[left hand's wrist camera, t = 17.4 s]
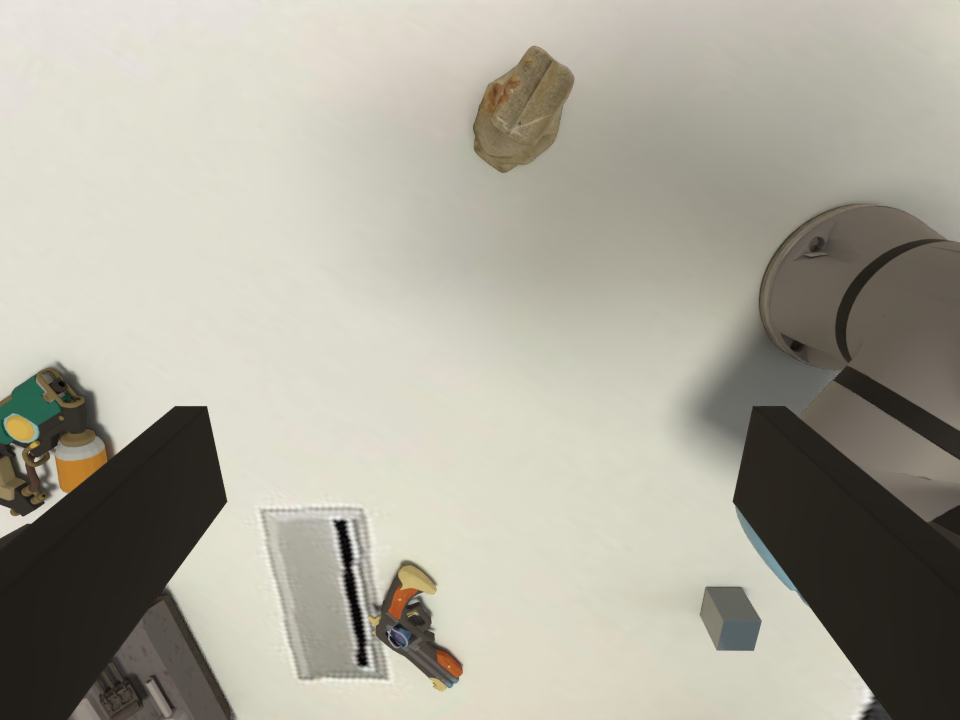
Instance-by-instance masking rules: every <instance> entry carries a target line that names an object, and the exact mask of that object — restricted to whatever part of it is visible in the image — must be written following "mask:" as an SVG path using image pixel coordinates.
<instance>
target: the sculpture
mask: <svg viewBox="0 0 960 720" xmlns="http://www.w3.org/2000/svg"><path fill="white" fill-rule="evenodd" d="M573 83H574V76H573V74H572V73H571V71H570V70H569V69H568V68H567V67H566V66H564V65H561V64H559V63H558V62H557V61H555V60H554V59H553V58H552V57H551V56H550V55H549V54H548V53H547V52H545V51H544V50H543V49H541V48H540V47H537V46H532V47H530V48H529V49H528V50H527V52H526V53H525V54H524V56H523V57H522V59H521V61H520V62H519V64H518V65H517V66H515V67H514V68H513V69H512V70H510V71H509V72H508V73H506V74H505V75H503V76H502V77H500V78H499V79H497V80H495V81H493V82H492V83H490V84H489V85H488V87H487V89H486V91H485V94H484V97H483V99H482V101H481V103H480V105H479V109H478V113H477V116H476V120H475V122H474V125H473V130H474V133H475V141H474V150H475V152H476V153H477V154H478V155H479V156H480V157H481V158H483V159H484V160H485V161H486V162H487V163H489V164H490V165H491V166H493V167H494V168H496V169H497V170H498V171H500V172H502V173H505V172H508V171H509V170H511V169H512V168H514V167H515V166H517V165H525V164H528V163H530V162H531V161H533V160H534V159H535V158H536V157H537V156H538V155H540V154H541V153H542V152H544V151H545V150H546V149H547V148H548V147H550V146H551V145H552V143H553V142H554V141H555V139H556V136H557V133H558V129H559V124H560V119H561V112H562V107H563V104H564V103H565V101H566V99H567V98H568V96H569V94H570V92H571V90H572V87H573Z"/></svg>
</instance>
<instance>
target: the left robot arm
mask: <svg viewBox="0 0 960 720" xmlns="http://www.w3.org/2000/svg"><path fill="white" fill-rule="evenodd" d="M760 311H761V317H762V321H763V324H764V327H765V329H766V331H767V333H768V335H769V336H770V338H771V339H772V340H773V341H774V343H775V344H776V345H777V346H778V347H779V348H781V349H782V350H783V351H785V352H786V353H788V354H789V355H791V356H792V357H794V358H795V359H797V360H799V361H801V362H803V363H806V364H808V365H812V366H815V367H820V368H825V369H833V370H841V372H840V373H839V374H838V375H837V377H836V378H835V379H834V380H832V381H831V382H830V384H829V385H828V386H827V387H826V388H825V389H824V390H823V391H822V392H821V393H820V394H819V396H818V397H817V398H816V399H815V400H814V401H813V402H812V403H811V404H810V405H809V406H808V407H807V409H806V410H805V411H804V412H803V413H802V414H801V415H800V416H799V417H797V416H796V415H795V414H794V413H793V412H791V411H790V410H789V409H788V408H786V407H785V406H753V409H752V413H751V418H750V423H749V428H748V432H747V437H746V442H745V446H744V451H743V456H742V460H741V465H740V470H739V474H738V479H737V484H736V488H735V493H734V498H733V503H734V504H735V507H736V513H737V516H738V519H739V521H740V524H741V526H742V528H743V530H744V532H745V534H746V535H747V537H748V539H749V540H750V542H751V544H752V545H753V547H754V548H755V549H756V551H757V552H758V554H759V555H760V556H761V558H762V559H763V560H764V562H765V563H766V564H767V565H768V567H769V568H770V569H771V570H772V571H773V572H774V574H775V575H776V576H777V577H778V578H779V579H780V580H781V581H782V582H783V583H784V584H785V585H786V586H787V587H788V588H789V589H790V590H795V591H796V592H797V593H798V595H799V596H800V597H801V599H802V600H803V602H804V603H805V604H806V605H808V606H809V607H810V608H811V609H812V611H813V612H814V613H815V615H816V616H817V617H818V619H819V620H820V622H821V623H822V624H823V626H824V627H825V628H826V630H827V631H828V632H829V634H830V635H831V637H832V638H833V639H834V641H835V642H836V643H837V645H838V646H839V647H840V649H841V650H842V652H843V653H844V654H845V656H846V657H847V658H848V660H849V661H850V662H851V664H852V665H853V667H854V668H855V669H856V671H857V672H858V673H859V675H860V676H861V677H862V679H863V680H864V682H865V683H866V684H867V686H868V687H869V688H870V690H871V691H872V693H873V694H874V695H875V697H876V698H877V699H878V701H879V702H880V703H881V705H882V706H883V708H884V709H885V710H886V712H887V713H888V714H889V716H890V717H891V718H892V720H960V242H954V241H949V240H947V239H945V238H944V237H942V236H941V235H940V234H938V233H937V232H936V231H934V230H933V229H931V228H930V227H929V226H927V225H926V224H924V223H923V222H922V221H920V220H919V219H917V218H916V217H914V216H912V215H910V214H908V213H906V212H904V211H901V210H899V209H895V208H891V207H885V206H876V205H850V206H845V207H840V208H837V209H833V210H831V211H828V212H826V213H823V214H821V215H819V216H817V217H816V218H814V219H812V220H810V221H809V222H807V223H806V224H805V225H803V226H802V227H800V228H799V229H798V230H797V231H796V232H794V233H793V234H792V235H791V236H790V237H789V238H788V239H787V240H786V242H785V243H784V244H783V245H782V246H781V247H780V249H779V250H778V252H777V253H776V254H775V256H774V258H773V259H772V261H771V263H770V265H769V267H768V269H767V271H766V274H765V276H764V280H763V283H762V288H761V294H760ZM835 381H836V382H835ZM840 384H841V385H840ZM843 386H844V387H843ZM845 387H846V388H845ZM848 389H849V390H848ZM850 390H851V391H852V392H851V391H850ZM853 392H854V393H856V394H857V395H856V394H854V393H853ZM858 395H859V396H860V397H859V396H858ZM861 397H862V398H863V399H862V398H861ZM864 399H865V400H864ZM866 400H867V401H868V402H867V401H866ZM869 402H870V403H871V404H870V403H869ZM872 404H873V405H875V406H876V407H875V406H873V405H872ZM877 407H878V408H879V409H878V408H877ZM880 409H881V410H882V411H881V410H880ZM883 411H884V412H883ZM886 413H887V414H886ZM888 414H889V415H890V416H889V415H888ZM891 416H892V417H894V418H895V419H894V418H892V417H891ZM896 419H897V420H898V421H897V420H896ZM899 421H900V422H901V423H900V422H899ZM902 423H903V424H904V425H903V424H902ZM905 425H906V426H905ZM907 426H908V427H909V428H908V427H907ZM910 428H911V429H912V430H911V429H910ZM913 430H914V431H913ZM916 432H917V433H916ZM918 433H919V434H920V435H919V434H918ZM921 435H922V436H923V437H922V436H921ZM924 437H925V438H924ZM927 439H928V440H927ZM930 441H931V442H930ZM932 442H933V443H932ZM935 444H936V445H935ZM938 446H939V447H938ZM941 448H942V449H941ZM946 451H947V452H946ZM949 453H950V454H949ZM952 455H953V456H952ZM226 503H227V498H226V493H225V488H224V484H223V479H222V474H221V470H220V465H219V460H218V456H217V451H216V446H215V442H214V437H213V432H212V428H211V423H210V418H209V413H208V409H207V406H175V407H174V408H172V409H171V410H170V411H169V412H167V413H166V414H165V415H164V416H163V417H161V418H160V419H159V420H158V421H156V422H155V423H154V424H153V425H152V426H150V427H149V428H148V429H147V430H145V431H144V432H143V433H142V434H141V435H139V436H138V437H137V438H136V439H134V440H133V441H132V442H131V443H130V444H128V445H127V446H126V447H125V448H123V449H122V450H121V451H120V452H119V453H117V454H116V455H115V456H114V457H112V458H111V459H110V460H109V461H108V462H106V463H105V464H104V465H103V466H101V467H100V468H99V469H98V470H97V471H95V472H94V473H93V474H92V475H90V476H89V477H88V478H87V479H86V480H84V481H83V482H82V483H81V484H79V485H78V486H77V487H76V488H75V489H73V490H72V491H71V492H70V493H68V494H67V495H66V496H65V497H64V498H62V499H61V500H60V501H59V502H57V503H56V504H55V505H54V506H53V507H51V508H50V509H49V510H48V511H46V512H45V513H44V514H43V515H42V516H40V517H39V518H38V519H37V520H36V521H34V522H33V523H32V524H26V525H24V526H22V527H20V528H19V529H17V530H15V531H13V532H11V533H9V534H7V535H6V536H4V537H2V538H0V720H68V718H69V717H70V716H71V714H72V713H73V712H74V710H75V709H76V708H77V706H78V705H79V703H80V702H81V701H82V699H83V698H84V697H85V695H86V694H87V693H88V691H89V690H90V688H91V687H92V686H93V684H94V683H95V682H96V680H97V679H98V677H99V676H100V675H101V673H102V672H103V671H104V669H105V668H106V667H107V665H108V664H109V662H110V661H111V660H112V658H113V657H114V656H115V654H116V653H117V652H118V650H119V649H120V647H121V646H122V645H123V643H124V642H125V641H126V639H127V638H128V637H129V635H130V634H131V632H132V631H133V630H134V628H135V627H136V626H137V624H138V623H139V622H140V620H141V619H142V617H143V616H144V615H145V613H146V612H147V611H148V609H149V608H150V607H151V605H152V604H153V602H154V601H155V600H156V598H157V597H158V596H159V594H160V593H161V591H162V590H163V589H164V587H165V586H166V585H167V583H168V582H169V581H170V579H171V578H172V576H173V575H174V574H175V572H176V571H177V570H178V568H179V567H180V566H181V564H182V563H183V561H184V560H185V559H186V557H187V556H188V555H189V553H190V552H191V551H192V549H193V548H194V546H195V545H196V544H197V542H198V541H199V540H200V538H201V537H202V536H203V534H204V533H205V531H206V530H207V529H208V527H209V526H210V525H211V523H212V522H213V520H214V519H215V518H216V516H217V515H218V514H219V512H220V511H221V510H222V508H223V507H224V505H225V504H226Z"/></svg>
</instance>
